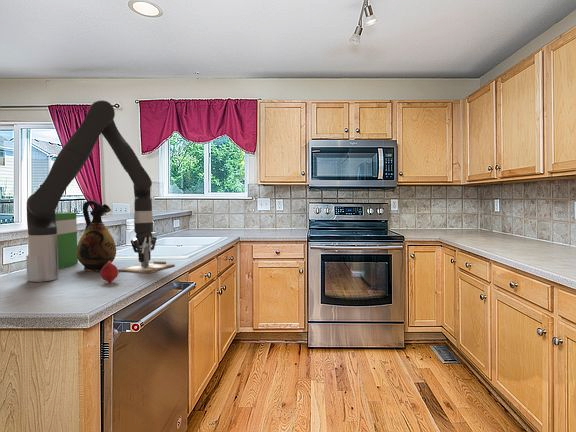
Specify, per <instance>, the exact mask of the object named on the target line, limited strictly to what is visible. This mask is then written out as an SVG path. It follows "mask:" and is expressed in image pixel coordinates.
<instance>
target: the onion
mask: <svg viewBox="0 0 576 432" xmlns="http://www.w3.org/2000/svg"><path fill="white" fill-rule="evenodd" d="M118 269H119V268H118V267H117V266H116V265H115V264H113V262H112V263H111V261H109V262H108V263H107V264H106V265H105V266H104V267H103V268H102V269H101V271H100V278H101V279H102V280H103V281H104V282H107V283H108V284H111V283H113V281H115V280H116V279H117V277H118V276H119V271H118Z"/></svg>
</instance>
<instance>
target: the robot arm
mask: <svg viewBox="0 0 576 432" xmlns="http://www.w3.org/2000/svg"><path fill="white" fill-rule="evenodd" d="M115 114H116V113H115V109H114V107H113V104H111V103H110V102H109V101H107V100H102V99H101V100H97V101H94V102H93V103H92V104H91V105H90V106H89V110H88V111H87V114H86V116H85V117H84V119H83V121H82V122H81V124H80V126H79V127H78V128H77V130H75V132H74V133H73V134H72V135H71V136H70V138H69V139H68V140H67V141H66V143H65V144H64V146H63V147H62V148H61V150H60V151H59V153H58V154H57V156H56V157H55V160H54V162H53V164H52V166H51V168H50V170H49V173H48V175H47V177H46V178H45V180H44V181H43V182H42V183H41V184H40V185H39V187H38V189H36V191H35V192H33V193H32V194H31V195H30V196H28V198H27V200H26V220H27V221H26V224H27V235H28V237H27V238H28V239H27V241H28V254H27V255H26V256H25V258H26V281H27V282H35V283H40V282H47V281H48V282H49V281H54V280H57V279H59V269H58V248H57V226H56V216H55V213H56V210H57V207H58V205H59V203H60V201H61V198H62V197H63V195H64V193H65V191H66V190H67V188H68V186H69V185H70V184H71V182H72V181H73V180H74V179H75V178H76V176H78V174H79V173H80V171H81V170H82V169H83V167H84V165H86V162H87V161H88V160H89V158H90V155H91V154H92V153H93V150H94V148H95V145H96V142H97V141H98V139H99V137H100V136H101V135H102V136H103V137H104V139H105V140H106V141H107V143H108V145H109V146H110V148H111V150H112V151H113V153H114V155H115V156H116V158H117V160H118V162H119V163H120V165H121V166H122V168H123V170H124V171H125V173H127V174H128V176H129V177H130V180H131V182H132V184H133V193H134V195H133V196H134V203H133V204H134V205H133V206H134V210H133V211H134V214H133V225H134V226H133V229H134V233H135V237H134V238H133V239H131V240H130V245H131V246H132V249H133V252H134V253H137V254H138V255H137V256H138V262H139V263H141V262H144V248H145V245H146V243H149V247H148V252H149V261H151V253H152V251H154V250H155V248H156V247H155V246H156V242H157V240H158V238H157V236H153V234H152V233H153V232H154V217H153V205H152V203H153V201H152V197H151V193H152V192H151V191H152V190H151V189H152V185H153V181H152V179H151V177H150V175H149V174H148V173H147V171H146V170H145V168H144V167H143V165H142V164H141V162H140V160H139V157H138V156H137V154H136V152H135V150H133V148H132V146H131V145H130V144H129V143H128V142H127V141H126V139H125V138H124V137H123V135H122V134H121V133H120V131H119V129H118V127H117V125H116V123H115V120H114V118H115V116H116V115H115ZM140 245H142V246H140Z"/></svg>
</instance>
